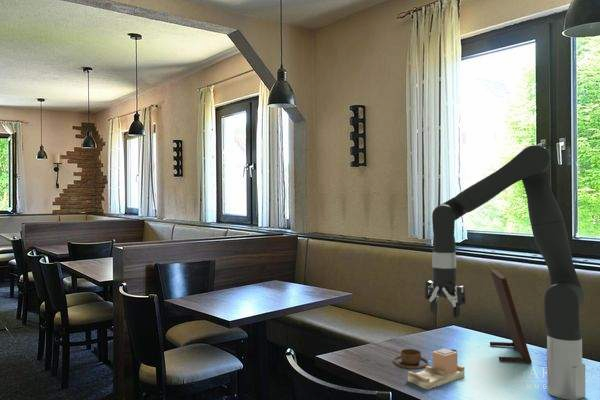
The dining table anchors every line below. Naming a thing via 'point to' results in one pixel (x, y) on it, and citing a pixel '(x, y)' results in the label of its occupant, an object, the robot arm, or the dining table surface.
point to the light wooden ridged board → (434, 377)
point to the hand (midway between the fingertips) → (444, 315)
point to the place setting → (412, 358)
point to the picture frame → (510, 320)
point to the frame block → (445, 360)
